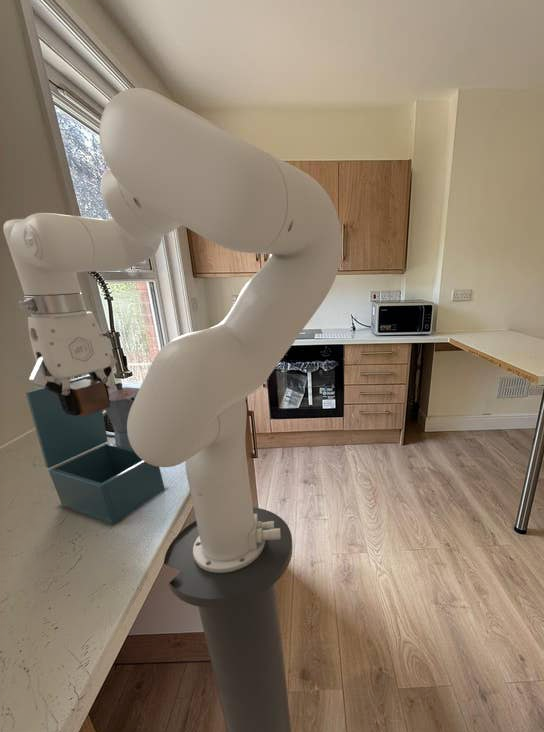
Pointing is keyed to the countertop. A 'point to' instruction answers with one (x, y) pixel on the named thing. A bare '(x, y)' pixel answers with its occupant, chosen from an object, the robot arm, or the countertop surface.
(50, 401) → the bin lid
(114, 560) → the countertop surface
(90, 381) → the block
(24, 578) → the countertop surface
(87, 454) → the bin
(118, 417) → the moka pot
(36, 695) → the countertop surface
